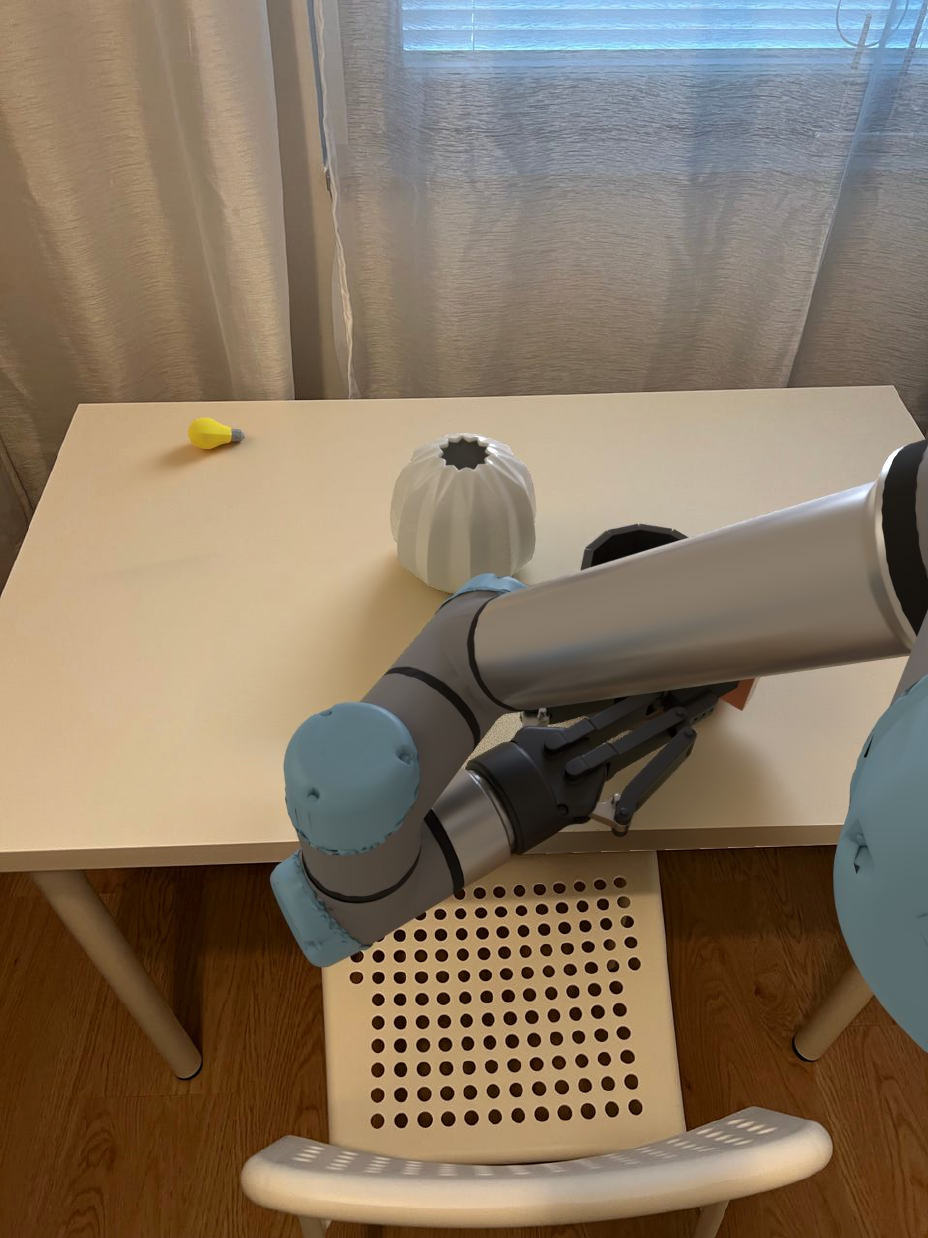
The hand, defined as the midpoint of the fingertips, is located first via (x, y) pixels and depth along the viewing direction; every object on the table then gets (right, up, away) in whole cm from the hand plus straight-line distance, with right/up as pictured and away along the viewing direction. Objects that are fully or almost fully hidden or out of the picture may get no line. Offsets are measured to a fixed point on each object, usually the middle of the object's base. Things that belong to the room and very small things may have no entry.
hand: (734, 671), depth 75 cm
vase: (-22, +10, +18) cm, 30 cm away
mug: (-5, +1, +7) cm, 9 cm away
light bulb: (-49, +23, +29) cm, 61 cm away
